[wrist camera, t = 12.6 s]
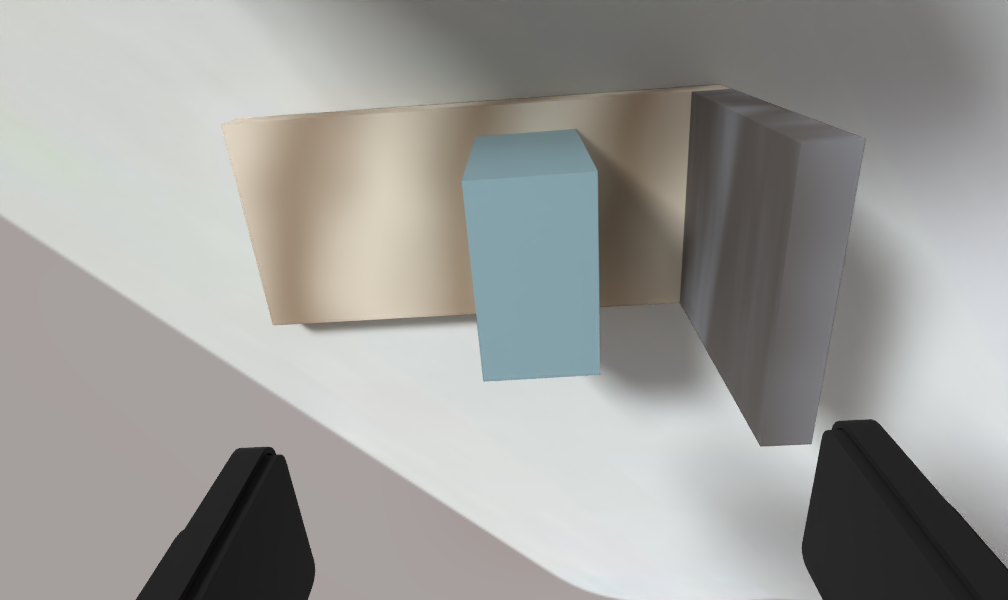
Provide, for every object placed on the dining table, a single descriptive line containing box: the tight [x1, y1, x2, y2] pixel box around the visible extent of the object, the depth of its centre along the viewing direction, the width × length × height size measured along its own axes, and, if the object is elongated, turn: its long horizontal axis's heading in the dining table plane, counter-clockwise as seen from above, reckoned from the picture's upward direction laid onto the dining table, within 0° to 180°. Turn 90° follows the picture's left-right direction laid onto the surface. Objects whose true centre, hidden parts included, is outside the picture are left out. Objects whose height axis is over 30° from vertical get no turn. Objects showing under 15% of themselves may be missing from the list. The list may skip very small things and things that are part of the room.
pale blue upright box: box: [462, 129, 600, 381], centre depth 23 cm, size 4×7×7 cm, turn 5°
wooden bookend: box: [221, 84, 866, 446], centre depth 22 cm, size 20×9×12 cm, turn 94°
